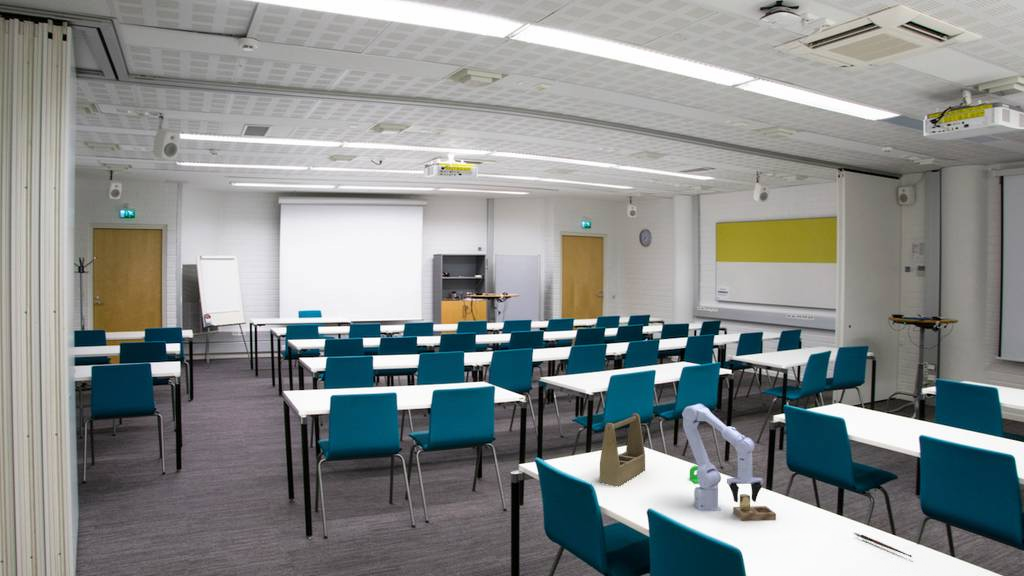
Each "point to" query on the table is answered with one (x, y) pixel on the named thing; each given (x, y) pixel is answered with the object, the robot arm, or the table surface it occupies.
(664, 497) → the table surface
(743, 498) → the cylinder
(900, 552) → the pen
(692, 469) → the mechanical part
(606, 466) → the caddy
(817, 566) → the table surface
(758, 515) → the pocket board
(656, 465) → the table surface
